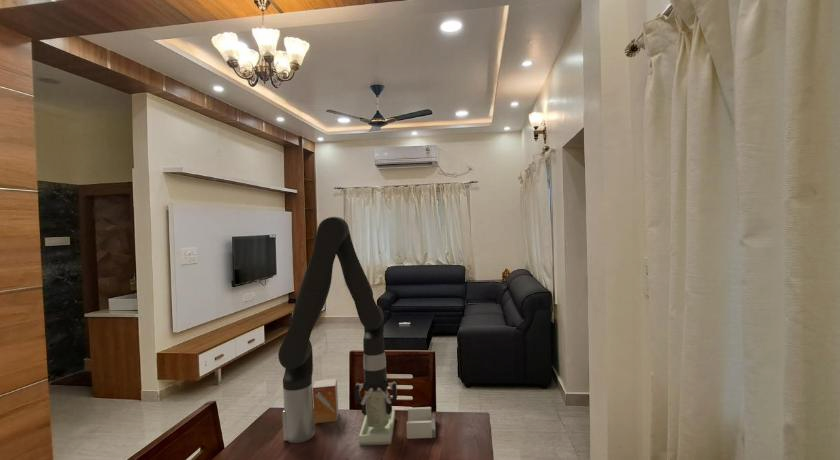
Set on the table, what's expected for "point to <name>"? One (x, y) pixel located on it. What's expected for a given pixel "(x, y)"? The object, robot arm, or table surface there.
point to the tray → (377, 432)
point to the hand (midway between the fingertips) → (377, 413)
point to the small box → (325, 401)
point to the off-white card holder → (420, 423)
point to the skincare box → (376, 410)
